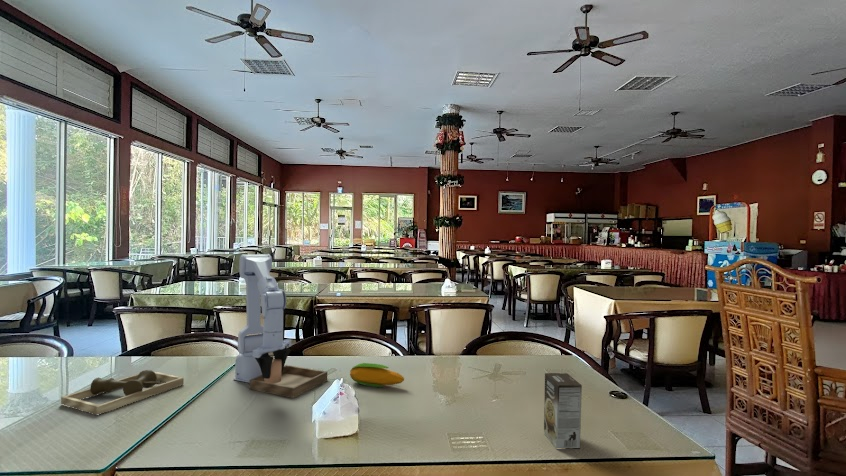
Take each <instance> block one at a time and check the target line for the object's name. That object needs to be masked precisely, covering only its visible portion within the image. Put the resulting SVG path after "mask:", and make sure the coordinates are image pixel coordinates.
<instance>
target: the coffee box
mask: <svg viewBox="0 0 846 476" xmlns="http://www.w3.org/2000/svg"><path fill="white" fill-rule="evenodd" d="M582 388H583V385H582V384H581V383H580V382H578V381H577V380H576V379H575V378H573V377H572V376H571V375H570V374H569V373H564V372H563V373H559V372H546V373H544V400H543V401H544V407H543V408H544V411H543V412H544V415H543V433H544V435H545V436H546V437H548V438H547V439H548V440H549V441H551V442H552V443H553V444H552V443H551V442H550V443H551V444H552V446H553V445H554V446H555V447H556V448H580V449H581V421H582V399H583V398H582V396H583V392H582V390H583V389H582ZM554 446H553V447H554ZM555 447H554V448H555ZM556 448H555V449H556Z"/></svg>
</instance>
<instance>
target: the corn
mask: <svg viewBox="0 0 846 476" xmlns="http://www.w3.org/2000/svg"><path fill="white" fill-rule="evenodd" d="M389 368H390V367H389V366H387V365H384V364H378V363H370V362H362V363H361V362H360V363H358V364H356V365H355V366H352V368H351V370H350V372H349V376H350V378H351V379H352V381H354V382H356V383H357V384H360V385H362V386H369V387H375V388H384V386H393V385H397V384H402V383H404V381H405V377H404V376H403V375H401V374H400V373H399V372H395V371H392V370H389Z"/></svg>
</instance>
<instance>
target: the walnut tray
mask: <svg viewBox="0 0 846 476" xmlns="http://www.w3.org/2000/svg"><path fill="white" fill-rule="evenodd" d="M326 381H328V371H325V370H320V369H314V368H308V367H301V366H295V365H288V364H286V365H284V368H283V372H282V373H281V381H280V382H278V383H273V384H268V383H265V382H264V378H263V376H262V375H261V376H258V377H256V378H253V379H251V380H250V383H249V390H254V391H258V392H263V393H267V394H273V395H278V396H284V397H288V398H292V399H294V398H296V397H299V396H300V395H302V394H304V393H306V392H308V391H309V390H311V389H313V388H316V387H317V386H319V385H322V384H323V383H324V382H326Z"/></svg>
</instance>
